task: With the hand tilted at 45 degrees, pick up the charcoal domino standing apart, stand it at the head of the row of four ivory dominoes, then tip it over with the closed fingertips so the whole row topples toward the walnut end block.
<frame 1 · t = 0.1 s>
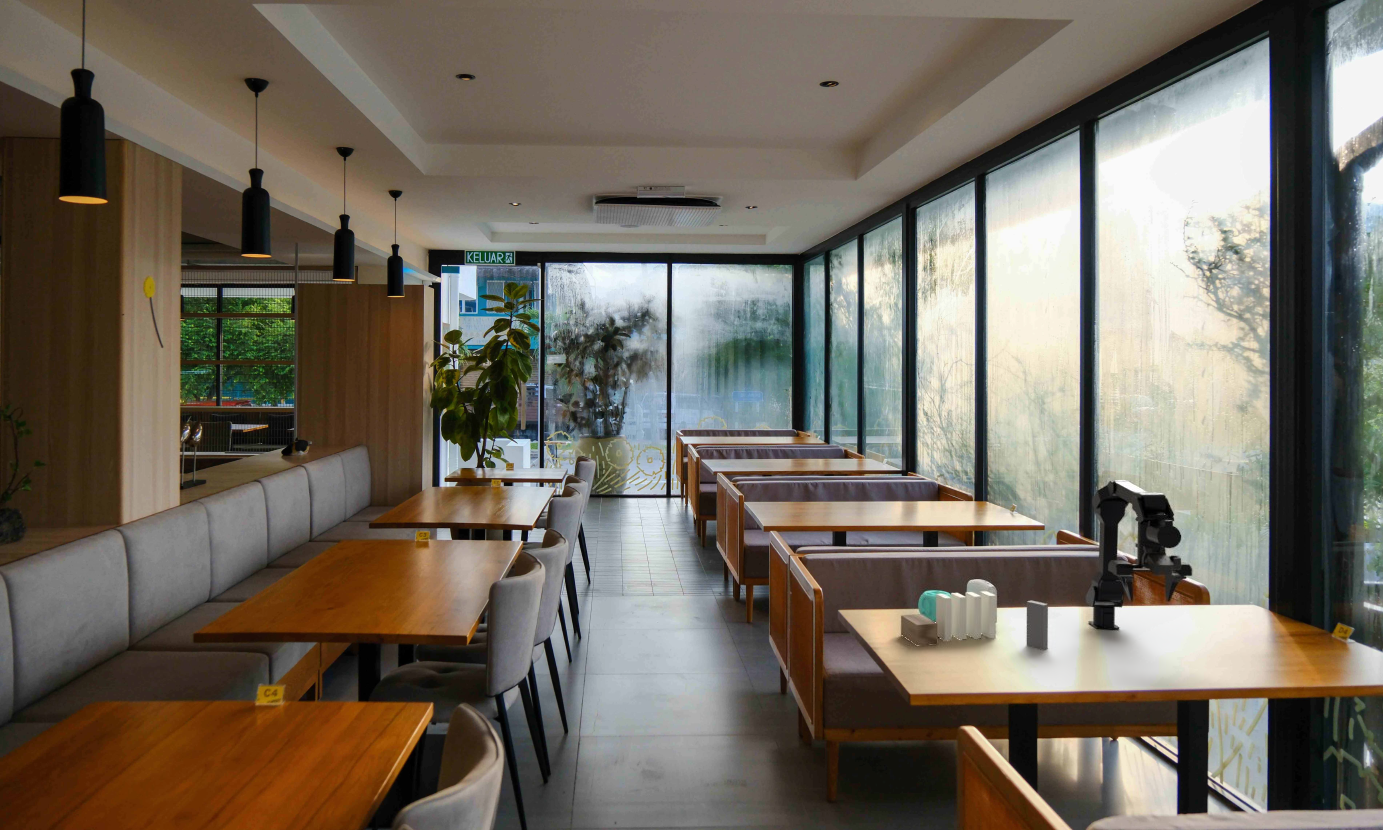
hand: (1149, 601, 217), 15 cm above the table, tool pointing down, fingers open, 9 cm apart
ivory domino 4: (958, 637, 236), on the table
decorative dice: (936, 620, 254), on the table
ivory domino 3: (973, 636, 236), on the table
ivory domino 2: (987, 635, 237), on the table
walnut end block: (918, 639, 233), on the table
white rounded block: (981, 621, 252), on the table
charcoal domino: (1036, 646, 227), on the table
ivory domino 5: (943, 638, 235), on the table
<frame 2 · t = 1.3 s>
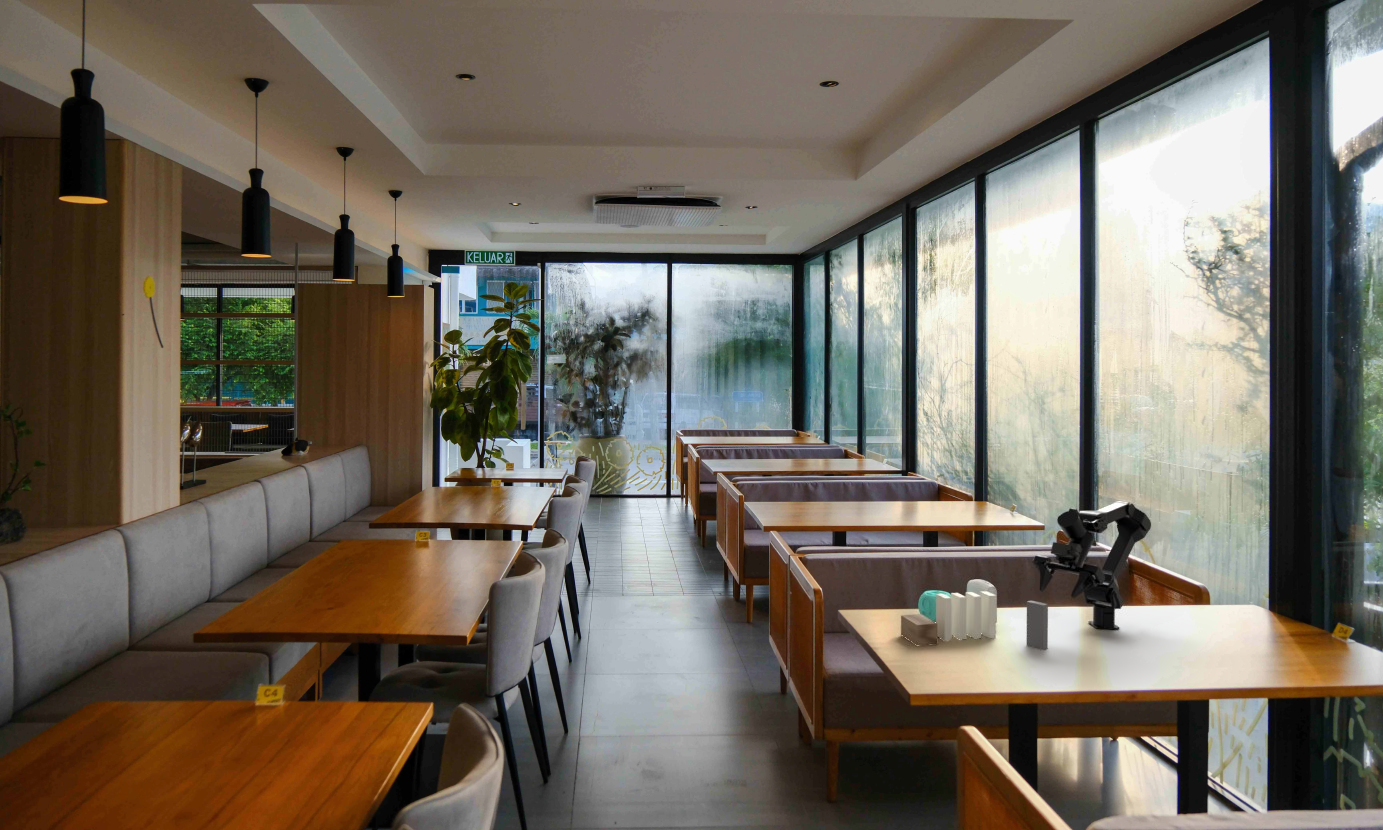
hand: (1056, 594, 231), 13 cm above the table, tool tilted 45°, fingers open, 9 cm apart
nothing on the table moved.
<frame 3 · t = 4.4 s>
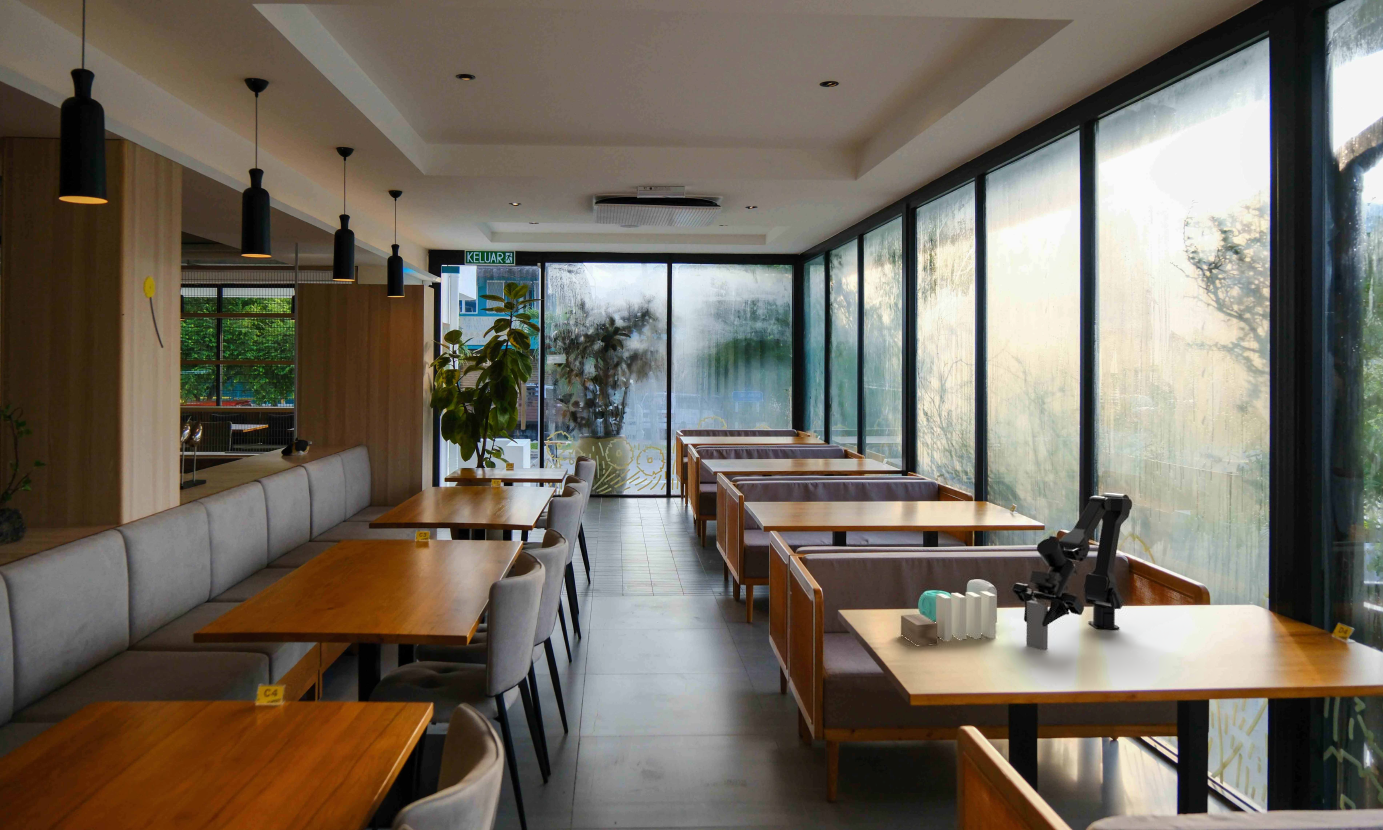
hand: (1034, 623, 226), 7 cm above the table, tool tilted 45°, fingers closed on charcoal domino, 5 cm apart
charcoal domino: (1036, 646, 227), on the table, touching gripper
everything else where it was.
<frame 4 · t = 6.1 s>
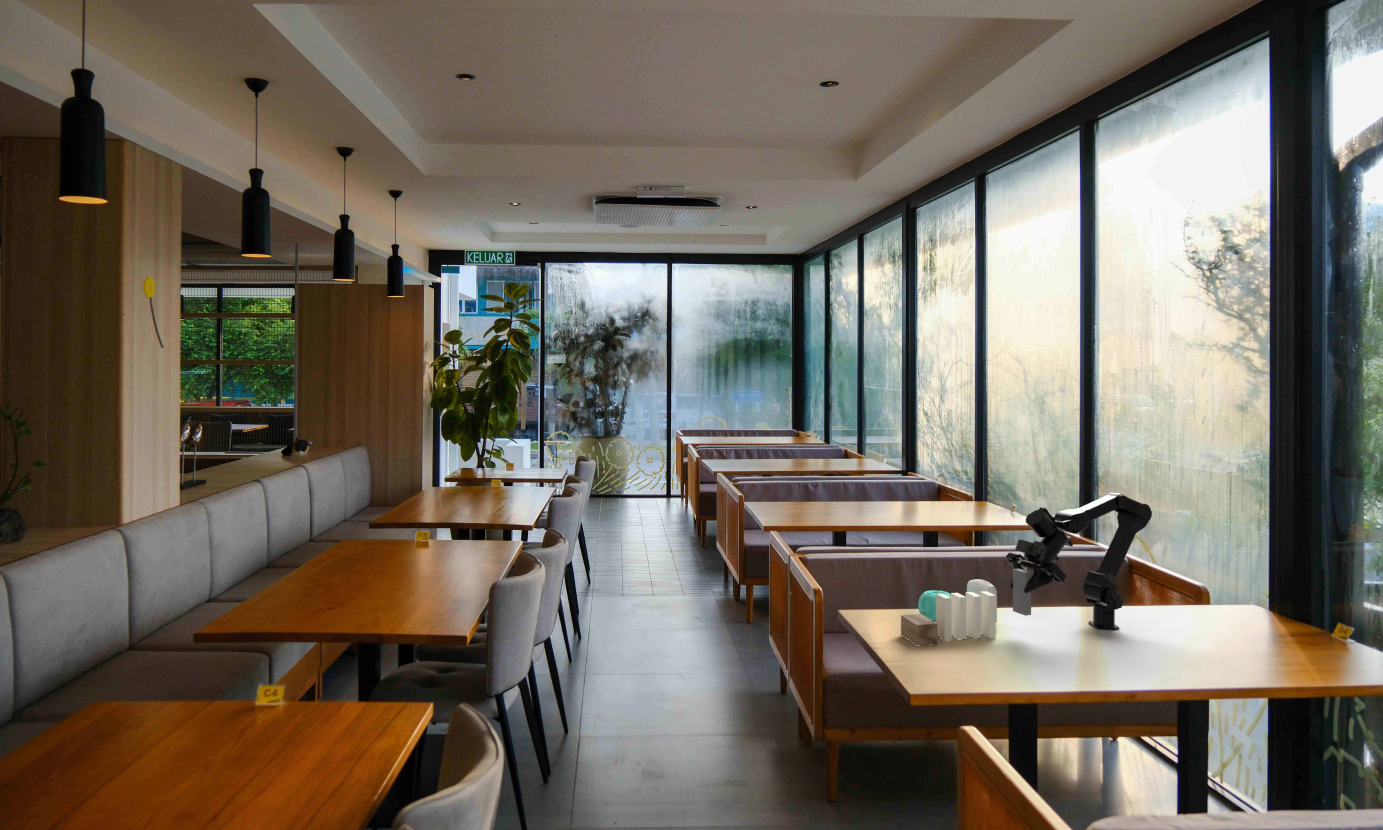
hand: (1017, 589, 235), 13 cm above the table, tool tilted 45°, fingers closed on charcoal domino, 5 cm apart
charcoal domino: (1021, 612, 236), point 7 cm above the table, touching gripper
everything else where it was.
when the fingers open (7 cm above the table, at t = 8.3 s): charcoal domino stays where it is, on the table.
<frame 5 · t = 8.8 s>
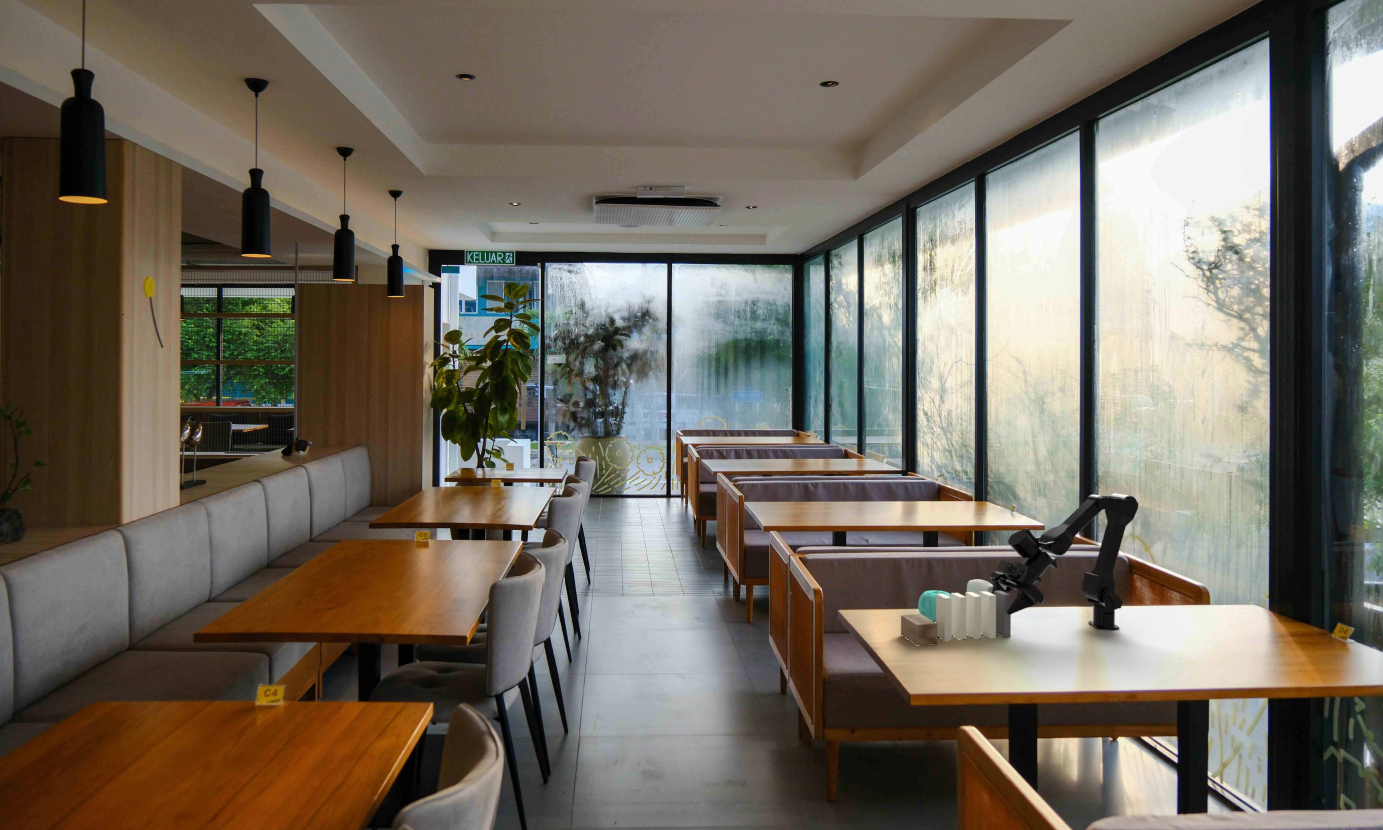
hand: (998, 609, 238), 7 cm above the table, tool tilted 45°, fingers open, 9 cm apart
charcoal domino: (1002, 634, 238), on the table
everything else where it was.
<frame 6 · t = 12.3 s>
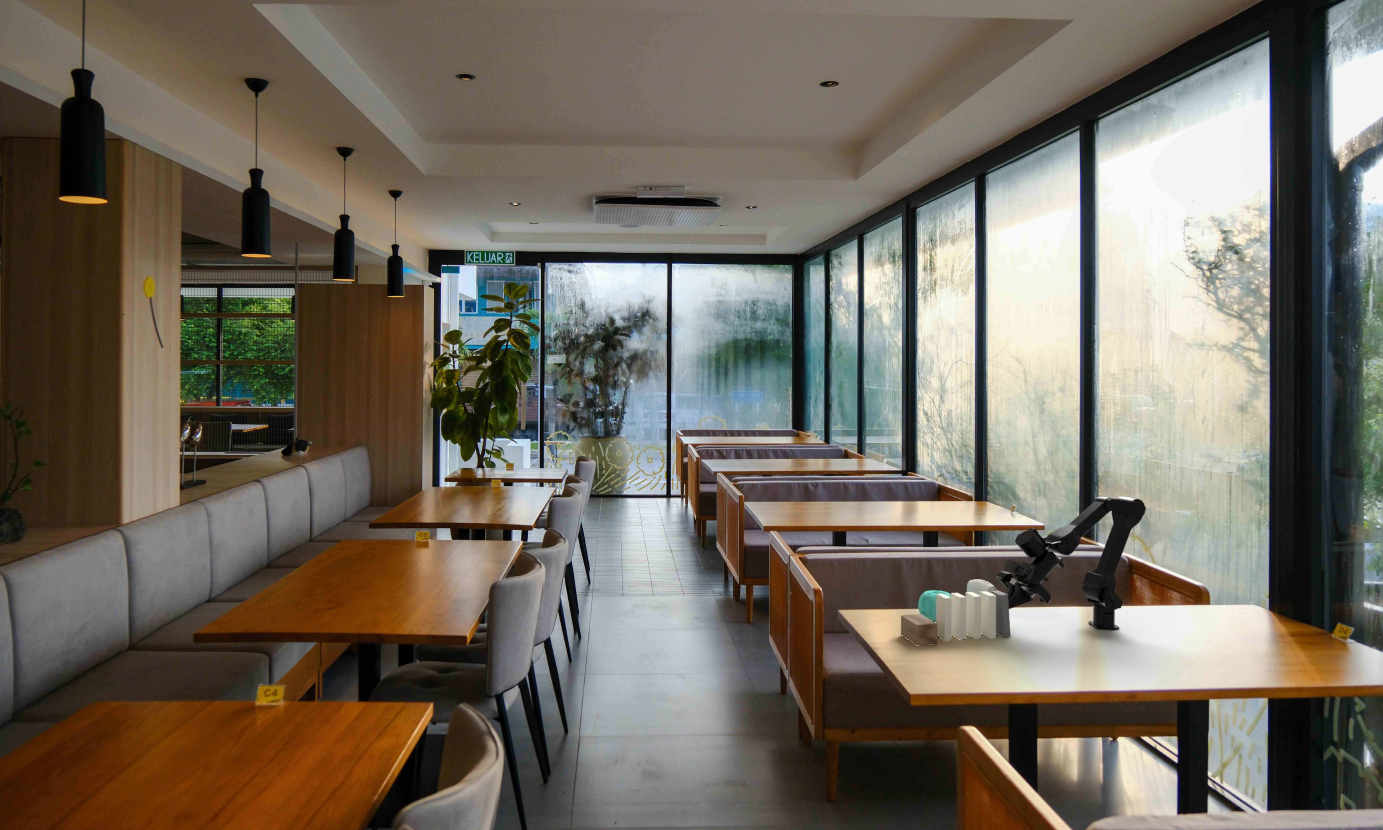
hand: (1004, 608, 238), 7 cm above the table, tool tilted 45°, fingers closed
nothing on the table moved.
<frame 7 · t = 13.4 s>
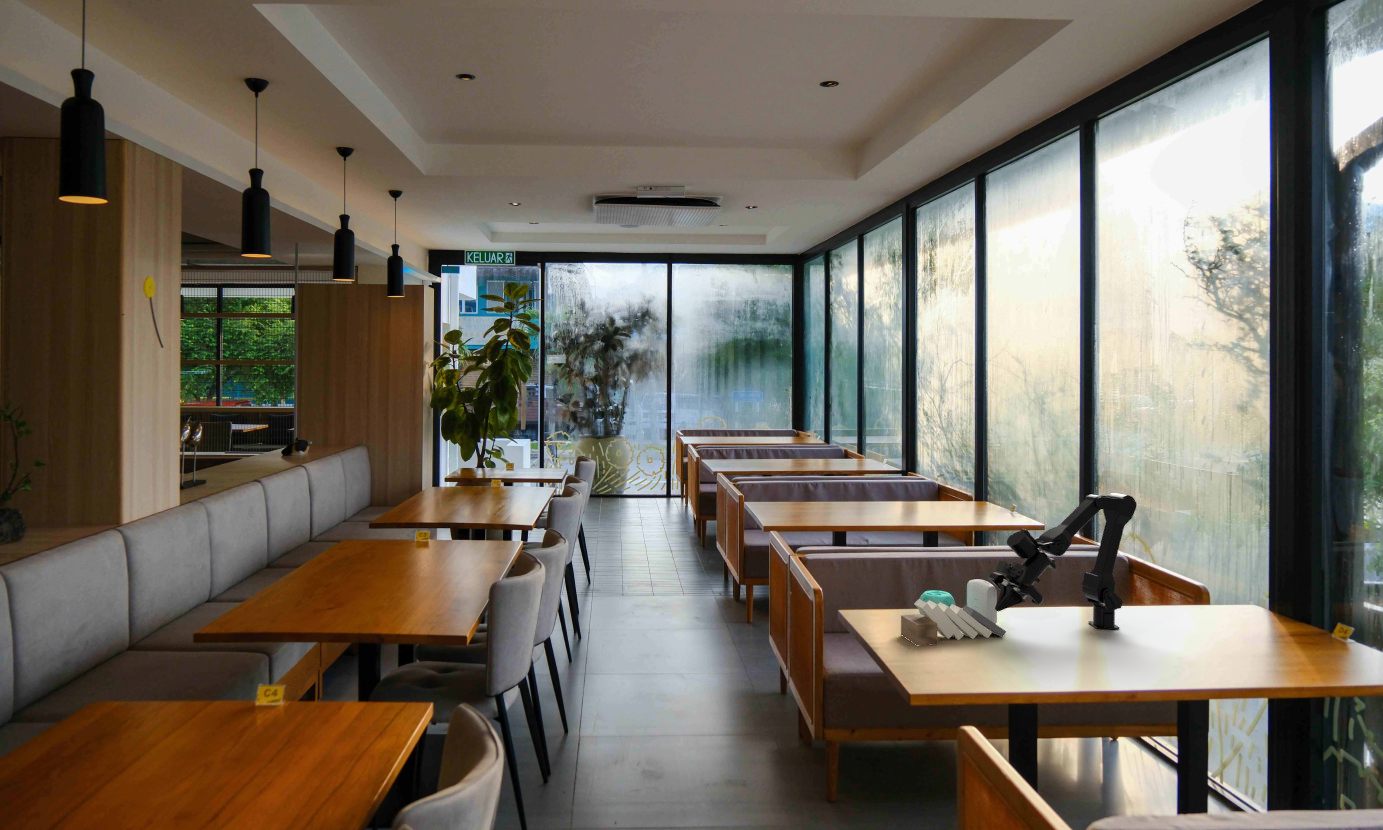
hand: (996, 610, 237), 7 cm above the table, tool tilted 45°, fingers closed
ivory domino 4: (956, 635, 235), point 1 cm above the table, tilted 41°, touching ivory domino 3, ivory domino 5
ivory domino 3: (970, 633, 236), point 1 cm above the table, tilted 47°, touching ivory domino 2, ivory domino 4
ivory domino 2: (985, 632, 237), point 1 cm above the table, tilted 52°, touching charcoal domino, ivory domino 3
charcoal domino: (999, 631, 238), point 1 cm above the table, tilted 56°, touching ivory domino 2
ivory domino 5: (946, 634, 235), point 1 cm above the table, tilted 41°, touching ivory domino 4, walnut end block
everything else where it was.
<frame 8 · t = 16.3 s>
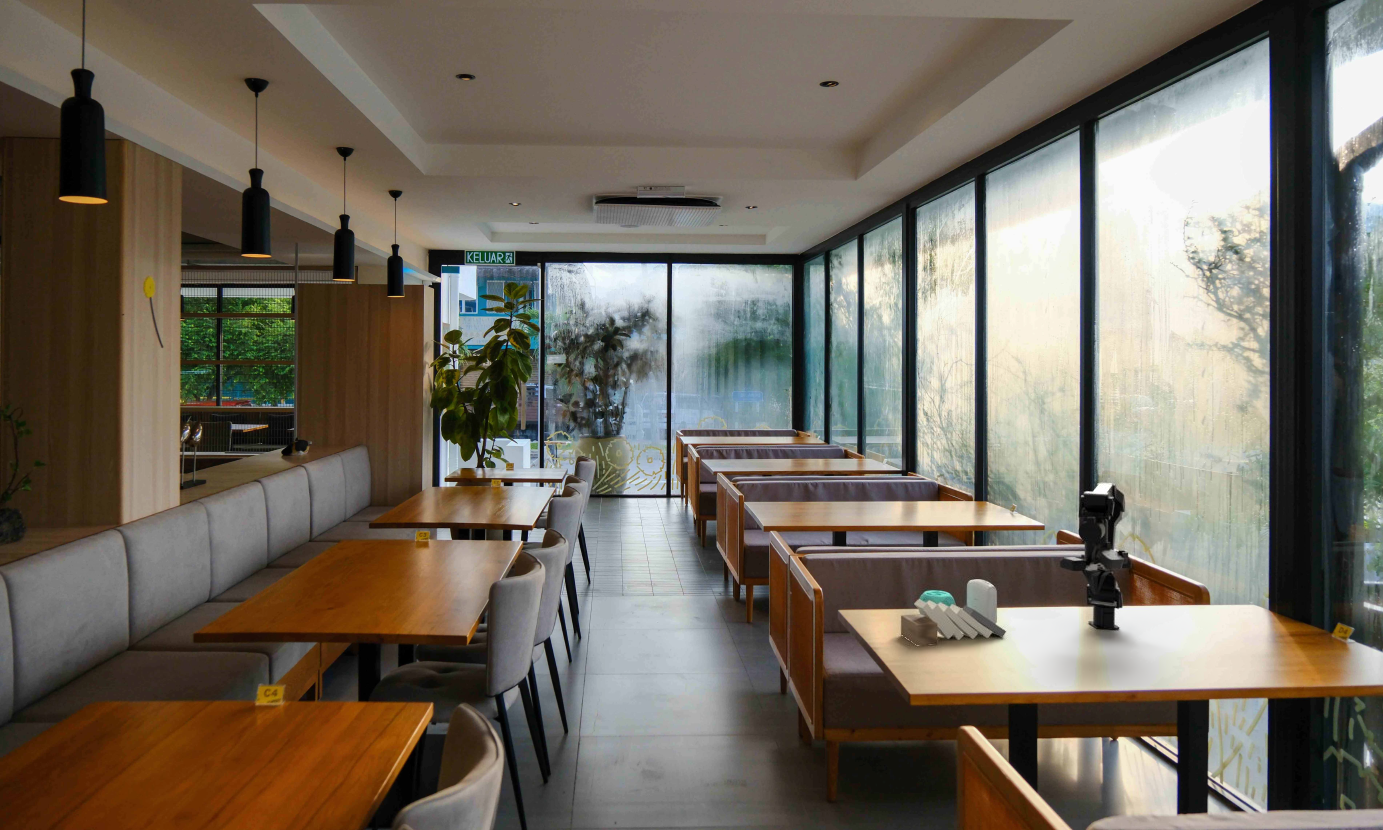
hand: (1095, 593, 232), 13 cm above the table, tool pointing down, fingers closed
nothing on the table moved.
at the end: ivory domino 5 tilted 41°; charcoal domino tilted 56°; charcoal domino inside the target area (0.8 cm from its centre), point 0.8 cm above the table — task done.
